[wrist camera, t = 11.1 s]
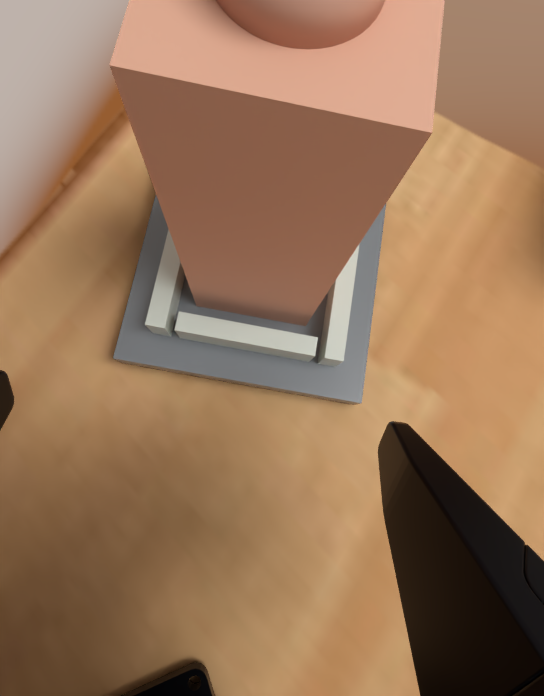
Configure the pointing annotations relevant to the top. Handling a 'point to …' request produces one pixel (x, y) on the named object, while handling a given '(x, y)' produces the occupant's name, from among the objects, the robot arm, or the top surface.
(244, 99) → the pillar
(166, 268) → the socket plate
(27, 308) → the top surface
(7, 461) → the top surface
